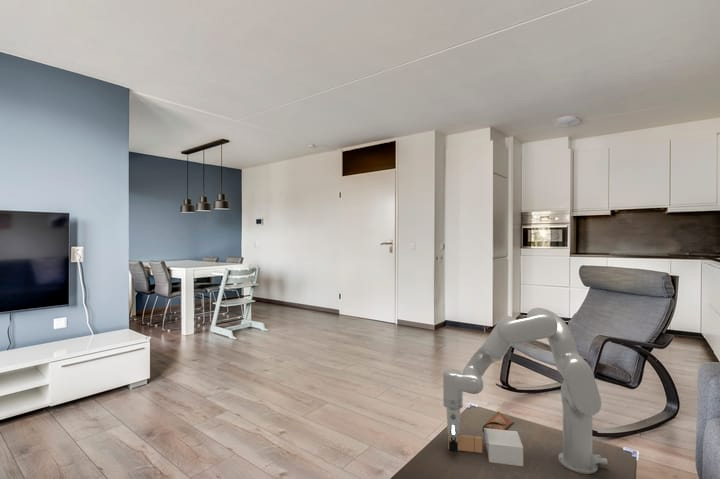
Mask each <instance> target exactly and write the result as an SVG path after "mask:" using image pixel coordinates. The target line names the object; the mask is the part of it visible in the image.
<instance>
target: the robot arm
mask: <svg viewBox="0 0 720 479" xmlns="http://www.w3.org/2000/svg"><path fill="white" fill-rule="evenodd" d="M542 339H547V342H548V343H549V346H550V349H551V353H552V356H553V360H554V363H555V367H556V369H557V371H558V372H559V374H560V375H561V376H562V377H563V381H562V383H561V387H560V396H561V406H562V452H559V454H558V457H557V458H558V462H559V463H560V464H561V466H563V467H564V468H566V469H568V470H570V471H572V472H576V473H579V474H584V475H585V474H586V475H589V474H595V473H596V472H597V471H598V464H602V465H608V463H609V461H608V458H607V457H602V456H601V454H594V453H593V416H596V415H597V414H599V412H600V410H601V408H602V399H601V398H602V397H601V395H600V392H599V389H598V388H599V387H598V385H597V382H596V378H595V375H594V371H593V370H592V367H591V366H590V365H589V363H588V362H587V361H586V360H585V359H584V358H582V356H581V355H580V354H579V351H578V349H577V345H576V343H575V339H574V336H573V334H572V331H571V330H570V328H569V326H568V325H567V323H566V322H565V320H564V319H562V318H561V317H560V316H559V315H558V314H556V313H555V312H554V311H551V310H549V309H546V308H542V307H535V308H532V309H530V310H529V311H527V315H526V317H524V318H519V319H516V318H515V317H513V316H509V315H505V316H503V317H501V318H500V319H499V320H498V321H497V323H496V325H495V326H494V327H493V329H492V330H491V332H490V333H489V335H488V337H486V339H485V341H484V342H483V344H482V345H481V346H480V347H479V348H478V349H477V350H476V352H475V353H474V354H473V355H472V356H471V358H470V359H469V361H468V362H467V363H466V366H465V367H464V368H463V370H462V371H460V370H458V369H457V368H456V369H454V368H449V369H445V370H444V372H443V374H442V379H443V382H442V383H443V384H442V391H443V394H442V395H443V396H442V397H443V399H442V400H443V403H442V404H443V406H444V407H445V408H446V427H447V434H448V433H449V434H450V440H449V449H448V450H449V452H452V453H453V452H454V453H458V452H459V450H458V441H457V435H460V434H462V433H461V430H462V429H461V409H462V408H463V406H464V403H463V402H464V401H463V398H464V397H463V392H464V393H466V394H471V395H478V394H479V393H481V392H482V391H483V389H484V382H483V375H484V374H485V372H486V371H487V370H488V368H489V367H490V366H491V365H492V364H493V363H496V362H499V361H501V360H502V359H503V358H504V357H505V355H506V354H507V353H508V351H509V349H510V348H511V346H512V345H513V344H516V345H517V344H522V343H528V342H534V341H538V340H542ZM451 435H452V436H451ZM455 435H456V437H455Z"/></svg>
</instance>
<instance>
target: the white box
mask: <svg viewBox="0 0 720 479" xmlns="http://www.w3.org/2000/svg"><path fill="white" fill-rule="evenodd" d="M483 433H484V439H485V447H486V452H487V459H488V462H489V463H493V464H500V465H509V466H510V465H511V466H518V467H524V445H523V443H522V441H521V438H520V436H519V433H518V431H515V430H508V429H507V430H498V429H489V428H484V432H483Z"/></svg>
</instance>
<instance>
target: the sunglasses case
mask: <svg viewBox="0 0 720 479" xmlns="http://www.w3.org/2000/svg"><path fill="white" fill-rule="evenodd" d="M514 424H515V421H513V420H511V419H509V418H508V417H507V416H506V415H504V414H502V413H501V412H500V411H497V413H496V414H494V415H493V416H492V417H491V418H490V419H489V420H487V422H486V423H485V424H484V425H483V426H482V432H483V433H484V428H489V429H498V430H508V429H509V428H510V427H511V426H512V425H514Z"/></svg>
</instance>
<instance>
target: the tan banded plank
mask: <svg viewBox="0 0 720 479" xmlns="http://www.w3.org/2000/svg"><path fill="white" fill-rule="evenodd" d="M451 436H452V435H451ZM455 437H456V435H455ZM449 440H450V434H449V433H448V432H447V441H448V442H447V450H449ZM457 441H458V451H463V452H471V453H479V454H483V436H482V435H481V436H480V435H470V434H464V433H463V434H462V433H461V434H460V435H457Z"/></svg>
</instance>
